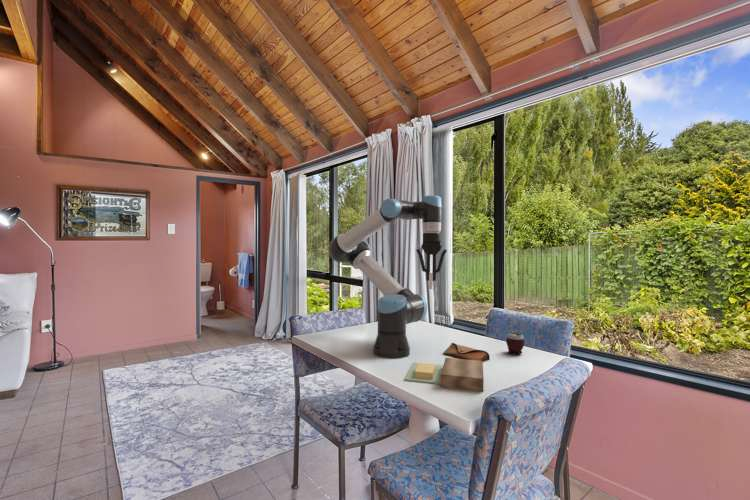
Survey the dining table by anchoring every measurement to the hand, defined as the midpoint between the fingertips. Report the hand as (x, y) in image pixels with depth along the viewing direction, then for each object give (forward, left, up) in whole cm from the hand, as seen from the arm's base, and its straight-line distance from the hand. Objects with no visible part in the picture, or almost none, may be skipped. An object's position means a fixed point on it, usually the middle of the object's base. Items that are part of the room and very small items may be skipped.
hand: (431, 288), depth 159 cm
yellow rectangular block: (+2, -30, -24) cm, 38 cm away
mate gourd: (+35, +7, -27) cm, 45 cm away
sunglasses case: (+14, -4, -27) cm, 31 cm away
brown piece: (+14, -30, -26) cm, 43 cm away
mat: (+2, -28, -26) cm, 39 cm away
